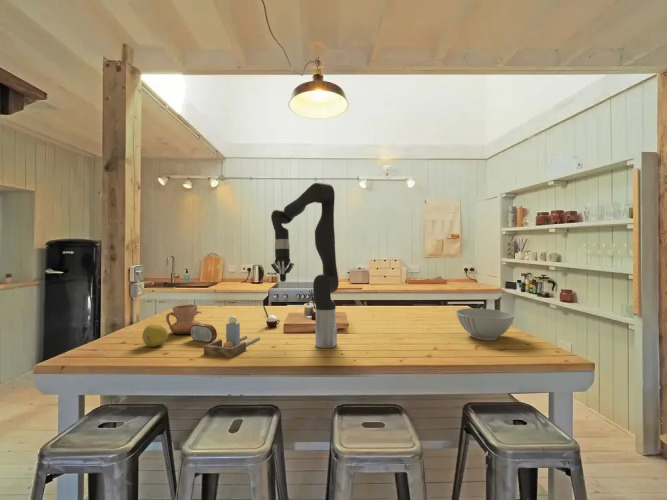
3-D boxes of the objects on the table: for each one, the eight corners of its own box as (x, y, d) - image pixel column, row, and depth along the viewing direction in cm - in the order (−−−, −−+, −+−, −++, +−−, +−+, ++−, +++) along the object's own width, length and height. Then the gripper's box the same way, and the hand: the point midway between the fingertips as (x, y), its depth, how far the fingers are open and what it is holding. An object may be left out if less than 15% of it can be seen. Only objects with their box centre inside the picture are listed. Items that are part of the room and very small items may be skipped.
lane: (259, 339, 173) (259, 337, 173) (240, 349, 157) (240, 347, 157) (245, 337, 175) (245, 335, 175) (224, 347, 159) (224, 345, 159)
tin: (217, 342, 167) (217, 325, 167) (212, 344, 164) (212, 326, 164) (194, 338, 174) (193, 321, 173) (189, 340, 171) (188, 323, 171)
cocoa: (279, 325, 202) (280, 305, 202) (279, 328, 196) (280, 306, 196) (262, 325, 201) (263, 304, 201) (261, 327, 194) (262, 306, 195)
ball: (231, 353, 154) (235, 346, 157) (228, 347, 152) (232, 339, 155) (223, 352, 155) (228, 345, 158) (220, 346, 153) (225, 339, 156)
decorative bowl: (454, 341, 171) (454, 316, 170) (457, 328, 195) (457, 306, 195) (516, 347, 160) (516, 321, 160) (511, 333, 185) (511, 310, 185)
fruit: (162, 348, 157) (162, 326, 157) (137, 349, 156) (137, 327, 156) (171, 342, 167) (171, 321, 167) (148, 342, 167) (148, 321, 166)
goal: (245, 350, 156) (245, 342, 156) (231, 357, 146) (231, 349, 146) (219, 346, 160) (219, 339, 160) (203, 353, 150) (203, 345, 150)
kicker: (240, 346, 159) (240, 315, 159) (235, 349, 156) (235, 317, 155) (230, 345, 161) (230, 314, 160) (225, 348, 157) (225, 316, 157)
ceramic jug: (205, 328, 193) (205, 303, 193) (199, 335, 179) (198, 307, 179) (171, 330, 191) (170, 304, 191) (162, 337, 176) (161, 309, 176)
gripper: (267, 248, 182) (268, 282, 181) (290, 247, 177) (291, 281, 176) (274, 249, 189) (275, 281, 188) (296, 247, 184) (297, 281, 183)
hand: (283, 281), depth 182 cm, fingers closed
